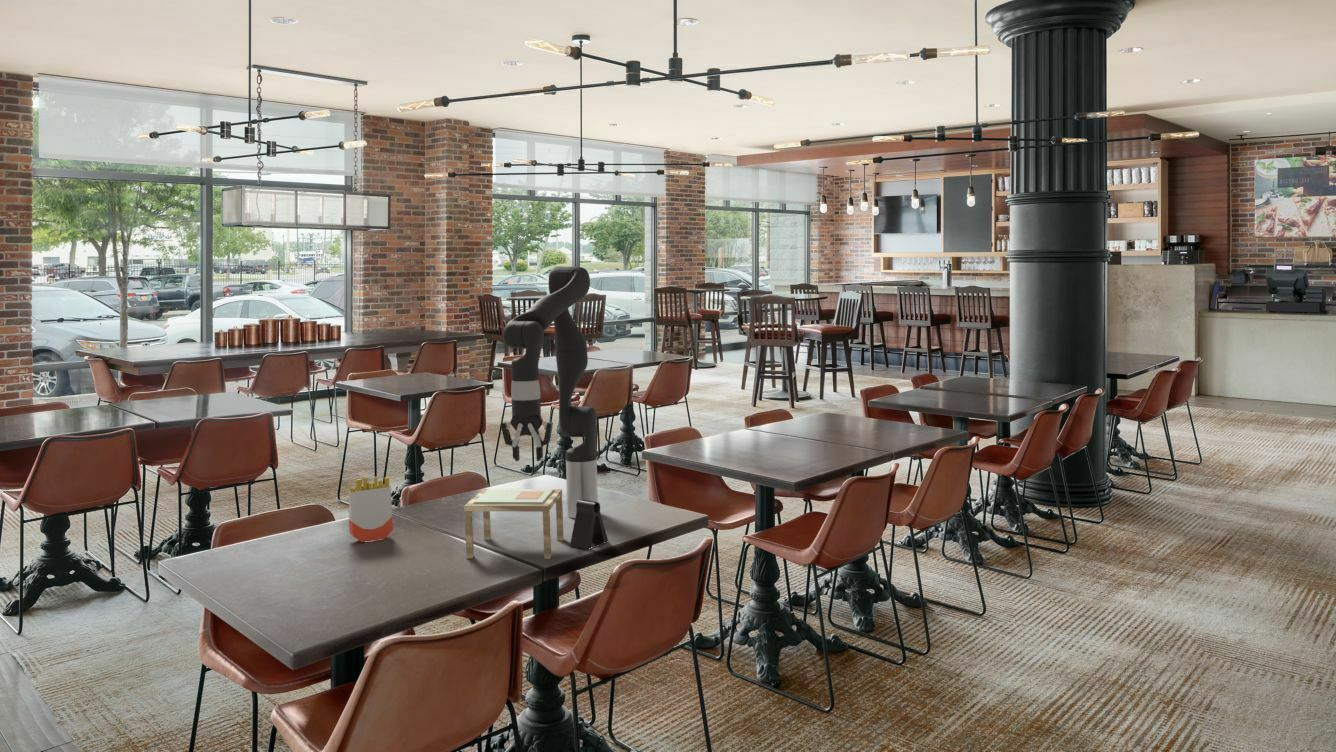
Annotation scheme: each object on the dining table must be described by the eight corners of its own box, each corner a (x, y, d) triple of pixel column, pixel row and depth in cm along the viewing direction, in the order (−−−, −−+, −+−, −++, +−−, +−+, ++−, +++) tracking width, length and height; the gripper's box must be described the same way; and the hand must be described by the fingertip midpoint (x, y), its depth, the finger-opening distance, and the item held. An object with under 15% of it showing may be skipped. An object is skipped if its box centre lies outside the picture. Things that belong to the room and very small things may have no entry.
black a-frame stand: (586, 550, 250) (585, 506, 248) (569, 546, 253) (568, 503, 252) (608, 542, 257) (607, 499, 256) (591, 538, 260) (590, 496, 259)
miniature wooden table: (485, 538, 263) (483, 489, 261) (563, 538, 261) (562, 489, 259) (466, 558, 245) (464, 505, 243) (550, 558, 243) (548, 505, 241)
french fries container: (349, 541, 263) (346, 477, 260) (389, 534, 268) (385, 472, 266) (353, 545, 259) (349, 480, 257) (393, 538, 264) (390, 475, 262)
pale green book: (489, 495, 259) (488, 488, 259) (553, 495, 258) (553, 488, 257) (474, 509, 245) (473, 501, 245) (542, 509, 243) (541, 501, 243)
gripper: (495, 399, 245) (497, 463, 247) (549, 398, 243) (551, 463, 245) (502, 395, 252) (505, 457, 254) (555, 395, 251) (557, 457, 253)
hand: (528, 460), depth 250 cm, fingers open, 5 cm apart
